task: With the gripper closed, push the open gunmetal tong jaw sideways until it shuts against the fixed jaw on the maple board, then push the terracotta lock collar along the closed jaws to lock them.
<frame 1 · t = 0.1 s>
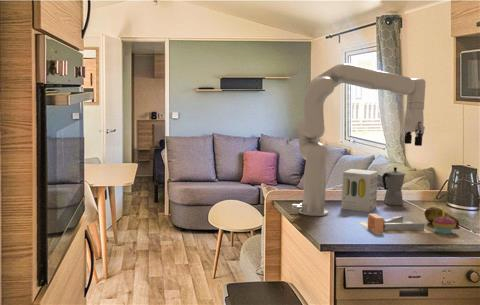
hand: (412, 144, 244), 31 cm above the worktop, tool pointing down, fingers open, 9 cm apart
board: (393, 230, 214), on the worktop
jaw: (392, 221, 216), point 3 cm above the worktop, hinge at 38.0°
lock collar: (375, 222, 208), point 4 cm above the worktop, slide at 0.0 cm
fixed jaw: (383, 230, 207), resting on board
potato: (440, 228, 220), on the worktop
supplement box: (358, 208, 254), on the worktop
coffeepot: (391, 204, 267), on the worktop
cupcake: (443, 235, 208), on the worktop
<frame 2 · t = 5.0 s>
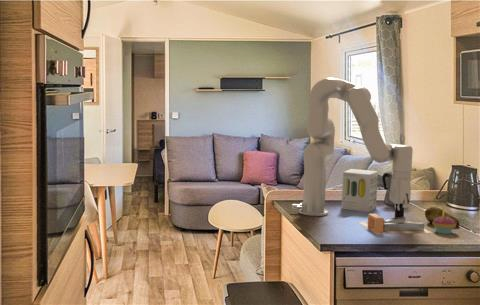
hand: (399, 219, 223), 2 cm above the worktop, tool pointing down, fingers closed
jaw: (394, 222, 216), point 3 cm above the worktop, hinge at 34.3°, touching gripper
everything else where it was.
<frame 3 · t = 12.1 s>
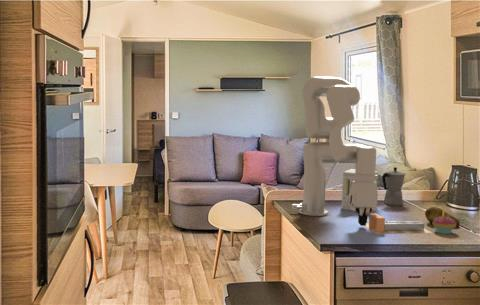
hand: (362, 224, 211), 2 cm above the worktop, tool pointing down, fingers closed
jaw: (403, 225, 211), point 3 cm above the worktop, hinge at -0.5°
lock collar: (376, 222, 208), point 4 cm above the worktop, slide at 0.5 cm, touching gripper
everything else where it was.
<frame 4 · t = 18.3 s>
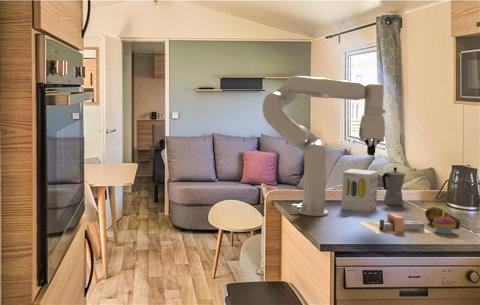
hand: (370, 155, 233), 27 cm above the worktop, tool pointing down, fingers closed
lock collar: (395, 222, 209), point 4 cm above the worktop, slide at 8.0 cm
everything else where it was.
at the end: jaw at +0° (first picture: +38°); lock collar slide at 8.0 cm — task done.
